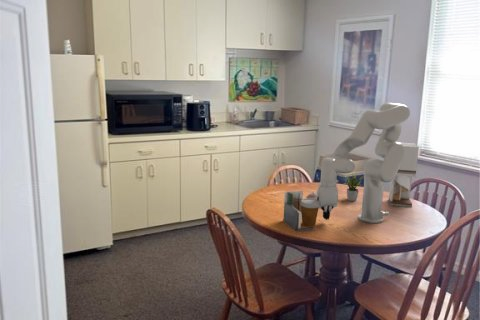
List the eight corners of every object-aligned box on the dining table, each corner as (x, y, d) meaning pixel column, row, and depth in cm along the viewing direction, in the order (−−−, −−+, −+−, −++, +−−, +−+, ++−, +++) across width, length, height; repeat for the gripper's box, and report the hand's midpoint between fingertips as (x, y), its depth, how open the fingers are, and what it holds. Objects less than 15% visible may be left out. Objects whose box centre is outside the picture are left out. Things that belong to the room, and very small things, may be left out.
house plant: (368, 204, 234) (371, 176, 231) (344, 203, 234) (346, 176, 231) (361, 197, 248) (364, 171, 245) (339, 196, 248) (341, 170, 245)
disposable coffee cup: (322, 224, 200) (323, 201, 198) (311, 229, 193) (313, 205, 191) (306, 219, 207) (307, 197, 204) (295, 224, 200) (296, 200, 197)
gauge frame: (300, 219, 207) (302, 190, 204) (314, 230, 193) (316, 199, 190) (282, 220, 205) (284, 191, 202) (295, 231, 190) (297, 201, 187)
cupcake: (309, 204, 231) (310, 187, 229) (324, 208, 225) (325, 191, 223) (300, 208, 224) (301, 191, 222) (315, 212, 218) (317, 194, 216)
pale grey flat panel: (289, 219, 204) (291, 192, 202) (300, 229, 192) (302, 200, 189) (287, 219, 204) (289, 192, 201) (298, 229, 192) (300, 200, 189)
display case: (390, 205, 234) (397, 145, 227) (388, 199, 244) (394, 142, 237) (411, 207, 231) (418, 146, 224) (408, 201, 241) (415, 143, 234)
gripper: (338, 180, 204) (335, 214, 208) (310, 182, 200) (309, 217, 204) (345, 184, 197) (343, 220, 201) (317, 186, 193) (315, 222, 197)
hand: (326, 218), depth 202 cm, fingers closed
